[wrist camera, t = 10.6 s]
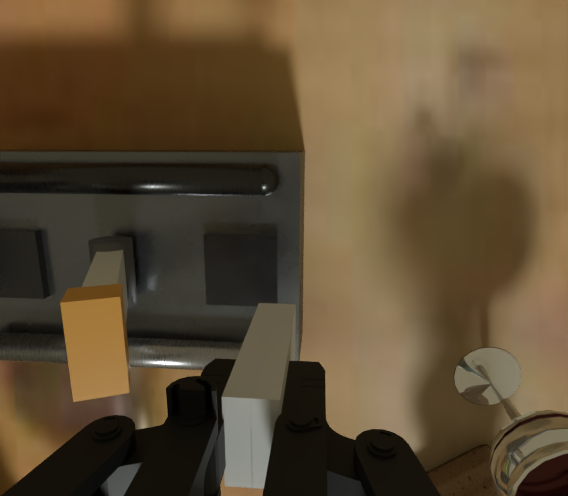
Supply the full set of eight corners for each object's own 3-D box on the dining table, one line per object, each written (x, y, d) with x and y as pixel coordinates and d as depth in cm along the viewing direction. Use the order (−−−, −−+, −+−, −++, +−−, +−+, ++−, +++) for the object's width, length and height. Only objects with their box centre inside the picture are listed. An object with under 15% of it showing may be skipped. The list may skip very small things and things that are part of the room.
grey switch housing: (37, 322, 35) (-41, 372, 28) (11, 149, 32) (-86, 151, 24) (302, 333, 33) (296, 389, 26) (304, 150, 30) (298, 153, 22)
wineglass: (425, 367, 33) (480, 488, 21) (502, 320, 32) (607, 422, 20) (473, 429, 34) (551, 578, 22) (550, 386, 32) (677, 521, 21)
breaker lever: (97, 299, 26) (67, 403, 16) (90, 237, 25) (53, 303, 15) (137, 295, 27) (135, 391, 17) (132, 234, 26) (125, 296, 16)
